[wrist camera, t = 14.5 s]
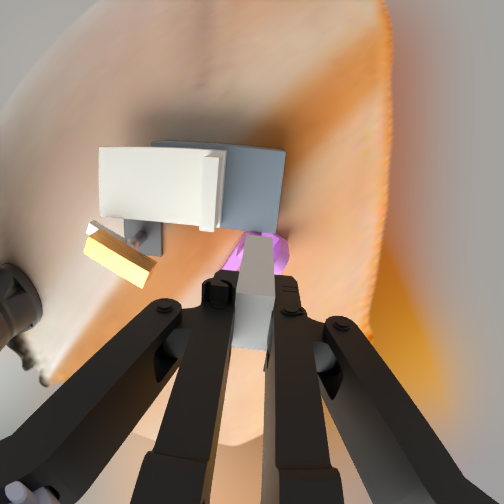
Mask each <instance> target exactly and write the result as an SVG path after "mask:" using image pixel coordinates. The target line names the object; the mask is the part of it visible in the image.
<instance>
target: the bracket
mask: <svg viewBox="0 0 504 504" xmlns="http://www.w3.org/2000/svg"><path fill="white" fill-rule="evenodd" d="M246 235H256V236H265V237H273V256H274V274H275V275H280V274H281V272H282V271H283V270H284V268H285V266H286V264H287V262H288V260H289V248H288V242H287V240H285V239H284V238H282V237H281V236H279V235H277V234H272V233H263V232H254V231H246V232H245V234H244V235H243V237H242V238H241V240H240V241H239V243H238V244H237V246H236V247H235V249H234V250H233V252H232V253H231V255H230V256H229V258H228V259H227V261H226V262H225V264H224V265H223V267H222V268H221V269H223V270H231V271H237V270H238V268H239V267H240V265H241V261H242V256H243V251H244V245H245V240H246Z"/></svg>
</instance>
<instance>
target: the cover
mask: <svg viewBox="0 0 504 504" xmlns="http://www.w3.org/2000/svg"><path fill="white" fill-rule="evenodd" d="M226 157H227V150H215V149H200V148H181V147H149V146H106V147H99V205H100V217H112V218H123V219H134V220H145V221H156V222H166V223H176V224H187V225H196V226H200V227H199V231H209V232H214V231H215V229H216V228H220V226H221V220H222V207H223V193H224V181H225V169H226Z"/></svg>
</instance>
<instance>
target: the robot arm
mask: <svg viewBox="0 0 504 504" xmlns="http://www.w3.org/2000/svg"><path fill="white" fill-rule="evenodd" d="M41 316H42V307H41V302H40V299H39V296H38V294H37V292H36V290H35V288H34V286H33V284H32V283H31V281H30V280H29V279H28V277H27V276H26V275H25V274H24V273H23V272H22V271H21V270H20V269H18V268H17V267H15V266H13V265H11V264H3V265H1V266H0V351H1V350H2V349H3V347H4V346H5V345H6V344H7V343H8V342H9V341H10V340H11V339H12V338H13V337H14V336H16V335H18V334H20V333H23V332H25V331H27V330H30V329H32V328H33V327H34V326H35V325H36V324H37V323H38V322H39V321H40V319H41ZM231 347H234V348H243V349H252V350H262V351H266V349H267V353H266V359H265V364H264V370H263V372H265V401H264V434H263V464H262V491H261V503H260V504H344V498H343V490H342V483H341V477H340V473H339V471H338V469H337V468H334V467H332V466H331V463H330V457H329V449H328V441H327V434H326V427H325V420H324V413H323V407H322V400H321V396H322V398H323V400H324V402H325V404H326V406H327V408H328V410H329V413H330V414H331V417H332V419H333V421H334V423H335V425H336V427H337V429H338V431H339V433H340V436H341V437H342V440H343V442H344V444H345V446H346V448H347V450H348V452H349V454H350V457H351V459H352V461H353V463H354V465H355V467H356V469H357V471H358V473H359V475H360V478H361V479H362V482H363V484H364V486H365V488H366V490H367V492H368V494H369V496H370V499H371V501H372V503H373V504H499V503H497V502H496V501H495V500H493V499H492V498H491V497H489V496H488V495H486V494H485V493H484V492H483V491H482V490H480V489H479V488H478V487H476V486H475V485H474V484H472V483H471V482H470V481H469V480H467V479H466V478H465V477H464V476H463V474H462V473H461V471H460V470H459V468H458V467H457V465H456V463H455V462H454V461H453V459H452V457H451V456H450V454H449V453H448V451H447V450H446V449H445V447H444V445H443V444H442V443H441V441H440V440H439V438H438V437H437V435H436V434H435V432H434V431H433V429H432V428H431V427H430V425H429V424H428V422H427V421H426V419H425V418H424V416H423V415H422V414H421V412H420V411H419V409H418V408H417V406H416V405H415V404H414V402H413V401H412V399H411V398H410V396H409V395H408V394H407V392H406V391H405V390H404V388H403V387H402V385H401V384H400V383H399V381H398V380H397V379H396V377H395V376H394V374H393V373H392V372H391V370H390V369H389V368H388V366H387V365H386V363H385V362H384V361H383V359H382V358H381V357H380V355H379V354H378V353H377V351H376V350H375V349H374V347H373V346H372V345H371V343H370V342H369V341H368V339H367V338H366V337H365V335H364V334H363V333H362V331H361V330H360V329H359V327H358V326H357V325H356V324H355V323H354V322H353V321H352V320H350V319H348V318H346V317H343V316H332V317H329V318H328V319H326V322H325V323H322V322H318V321H315V320H312V319H311V318H309V317H307V312H306V310H305V309H304V308H303V307H301V301H300V296H299V290H298V284H297V281H296V280H295V279H294V278H293V277H292V276H284V275H275V274H274V256H273V237H265V236H256V235H246V240H245V245H244V251H243V256H242V261H241V267H240V271H231V270H223V269H220V270H219V271H218V272H216V273H215V275H214V278H210V279H207V280H205V281H204V282H203V283H202V302H201V305H200V306H198V307H195V308H187V309H182V307H181V304H180V303H179V302H178V301H176V300H173V299H168V298H162V299H158V300H155V301H153V302H151V303H150V304H149V305H148V306H147V307H145V308H144V309H143V310H142V311H141V312H140V313H139V314H138V315H137V316H136V317H134V318H133V319H132V320H131V321H130V322H129V323H128V324H127V325H126V326H125V327H124V328H122V329H121V330H120V331H119V332H118V333H117V334H116V335H115V336H114V337H113V338H112V339H111V340H109V341H108V342H107V343H106V344H105V345H104V346H103V347H102V348H101V349H100V350H99V351H98V352H97V353H95V354H94V355H93V356H92V357H91V358H90V359H89V360H88V361H87V362H86V363H85V364H84V365H83V366H82V367H81V368H80V369H79V370H77V371H76V372H75V373H74V374H73V375H72V376H71V377H70V378H69V379H68V380H67V381H66V382H65V383H64V384H63V385H62V386H61V387H60V388H59V389H58V390H57V391H56V392H55V393H54V394H53V395H52V396H51V397H49V399H47V400H46V401H45V402H44V403H43V404H42V405H41V406H40V407H39V408H38V409H37V410H36V411H35V412H34V413H33V414H32V415H31V416H30V417H29V418H28V419H27V420H26V421H25V422H24V423H23V424H22V425H21V426H20V427H19V428H18V429H17V430H16V432H14V433H13V434H12V435H11V436H9V437H7V438H5V439H2V440H1V441H0V504H75V503H76V502H77V501H78V500H79V499H80V498H81V497H82V496H83V495H84V494H85V492H86V491H87V490H88V489H89V488H90V486H91V485H92V484H93V482H94V481H95V480H96V478H97V477H98V476H99V474H100V473H101V472H102V470H103V469H104V467H105V466H106V465H107V464H108V462H109V461H110V459H111V458H112V457H113V455H114V454H115V453H116V452H117V450H118V449H119V447H120V446H121V445H122V443H123V442H124V441H125V439H126V438H127V437H128V435H129V434H130V433H131V431H132V430H133V429H134V427H135V426H136V425H137V423H138V422H139V420H140V419H141V418H142V416H143V415H144V414H145V412H146V411H147V410H148V408H149V407H150V406H151V404H152V403H153V401H154V400H155V399H156V397H157V396H158V395H159V393H160V392H161V391H162V389H163V388H164V386H165V385H166V384H167V382H168V381H169V380H170V378H171V377H172V376H173V374H174V373H175V371H176V370H177V369H178V367H179V366H180V367H179V370H178V373H177V376H176V379H175V382H174V385H173V388H172V392H171V395H170V398H169V401H168V404H167V407H166V410H165V414H164V417H163V420H162V423H161V426H160V430H159V433H158V436H157V439H156V443H155V446H154V448H153V450H152V451H148V452H147V454H146V455H145V457H144V460H143V462H142V465H141V469H140V472H139V475H138V478H137V482H136V485H135V488H134V492H133V495H132V498H131V502H130V504H209V503H210V493H211V486H212V479H213V472H214V465H215V458H216V451H217V444H218V438H219V431H220V424H221V417H222V410H223V403H224V397H225V390H226V383H227V377H228V370H229V363H230V356H231Z"/></svg>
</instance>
